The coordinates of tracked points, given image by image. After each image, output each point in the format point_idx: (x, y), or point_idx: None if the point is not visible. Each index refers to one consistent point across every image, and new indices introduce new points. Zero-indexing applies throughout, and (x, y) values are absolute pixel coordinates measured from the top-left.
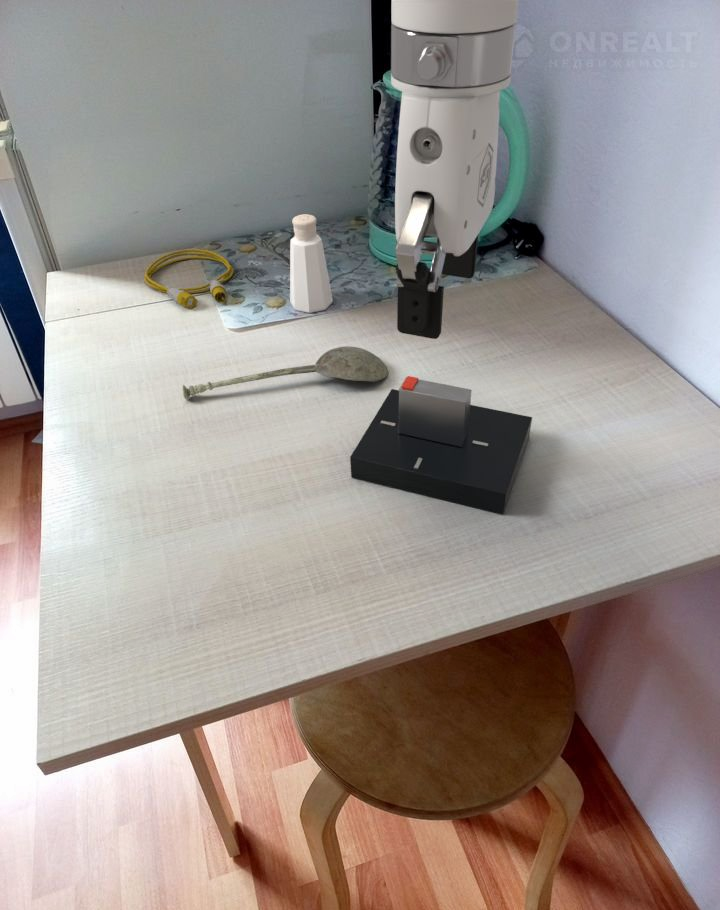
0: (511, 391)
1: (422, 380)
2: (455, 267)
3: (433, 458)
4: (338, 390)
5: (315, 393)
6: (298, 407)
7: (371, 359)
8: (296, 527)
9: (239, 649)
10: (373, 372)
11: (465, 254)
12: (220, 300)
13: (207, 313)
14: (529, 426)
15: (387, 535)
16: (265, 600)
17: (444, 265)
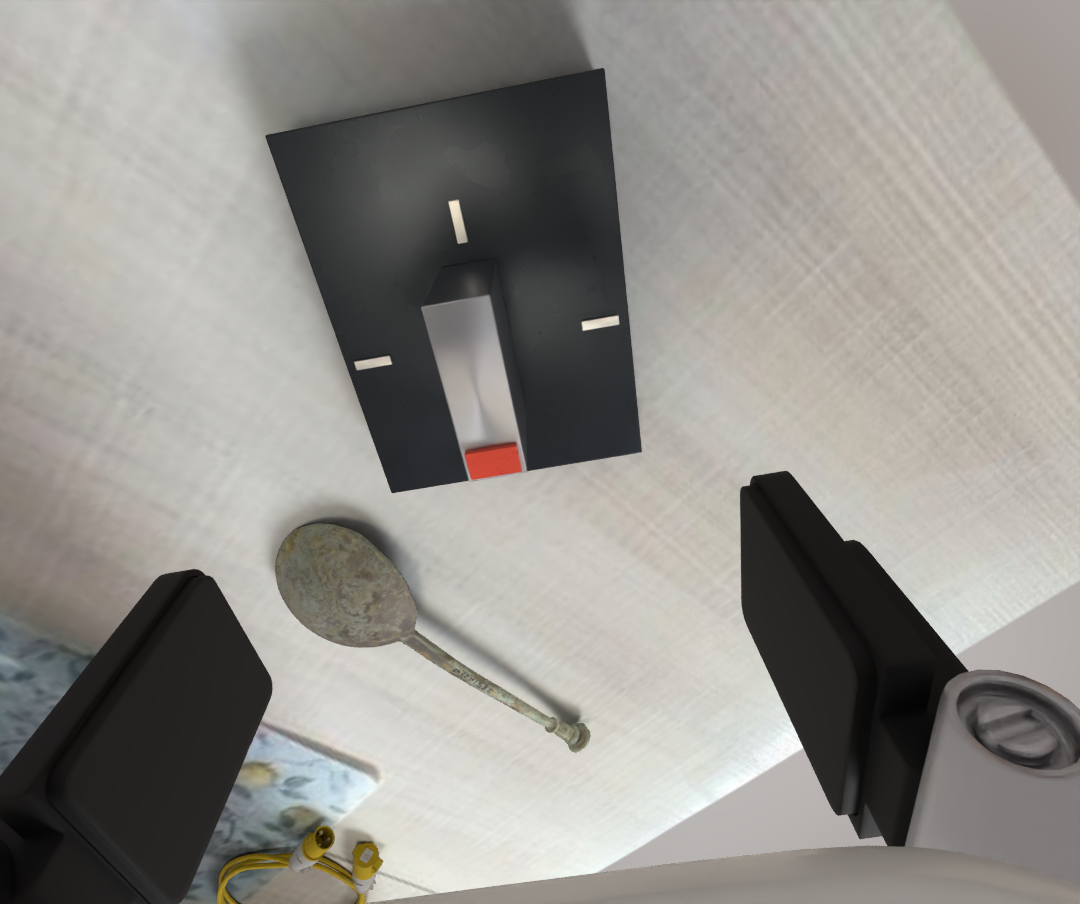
0: (150, 259)
1: (461, 441)
2: (222, 660)
3: (565, 300)
4: (413, 570)
5: (446, 595)
6: (499, 596)
7: (316, 573)
8: (788, 438)
9: (1063, 368)
10: (344, 549)
11: (164, 693)
12: (323, 830)
13: (363, 821)
14: (305, 127)
15: (752, 286)
16: (959, 390)
17: (246, 698)
